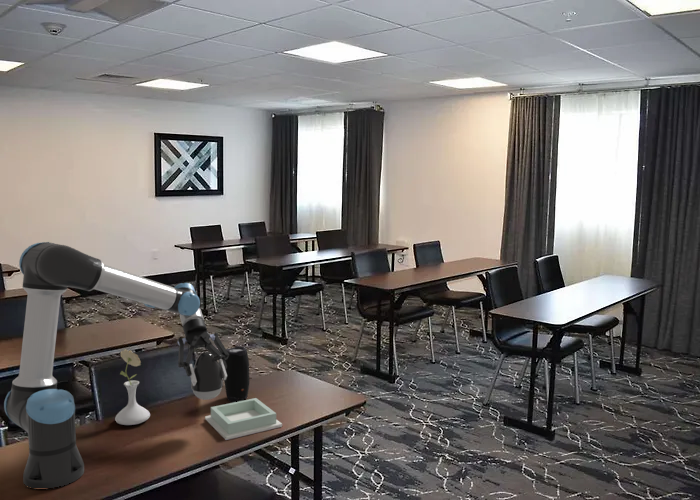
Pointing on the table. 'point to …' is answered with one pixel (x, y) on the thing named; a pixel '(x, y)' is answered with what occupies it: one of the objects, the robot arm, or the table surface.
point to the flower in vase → (131, 395)
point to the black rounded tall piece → (207, 376)
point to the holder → (242, 418)
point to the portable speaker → (237, 374)
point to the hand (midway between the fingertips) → (210, 380)
